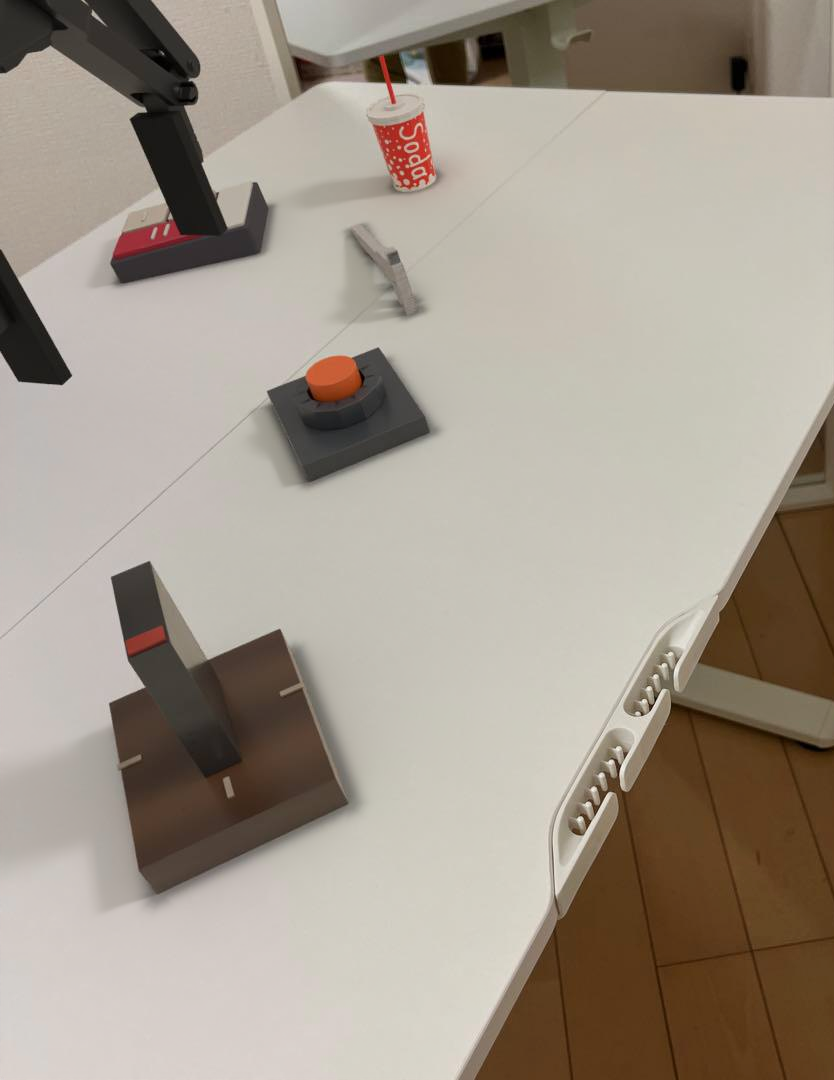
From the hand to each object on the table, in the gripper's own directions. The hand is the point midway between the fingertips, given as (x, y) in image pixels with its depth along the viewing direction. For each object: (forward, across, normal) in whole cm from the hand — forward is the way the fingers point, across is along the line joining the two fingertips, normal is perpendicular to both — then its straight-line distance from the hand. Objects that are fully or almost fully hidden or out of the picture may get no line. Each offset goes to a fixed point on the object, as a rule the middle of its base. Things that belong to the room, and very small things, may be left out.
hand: (131, 300), depth 56 cm
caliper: (+25, +44, +16) cm, 53 cm away
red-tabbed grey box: (+22, -10, -1) cm, 24 cm away
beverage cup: (+25, +62, +20) cm, 70 cm away
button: (+22, +21, +7) cm, 31 cm away
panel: (+25, -10, -2) cm, 27 cm away
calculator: (+25, +48, +40) cm, 67 cm away
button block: (+25, +21, +7) cm, 34 cm away
